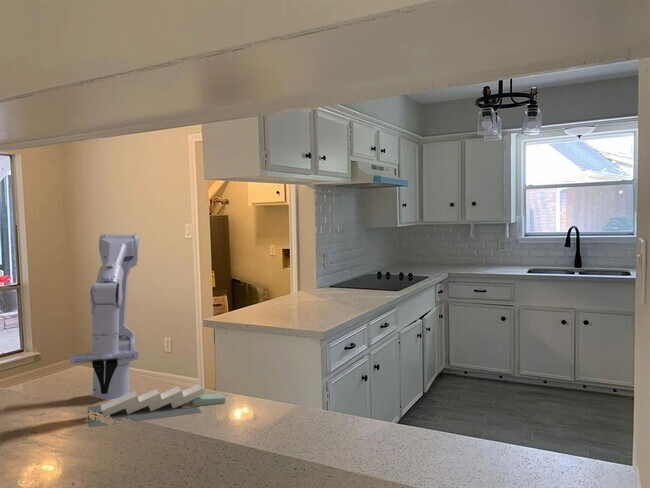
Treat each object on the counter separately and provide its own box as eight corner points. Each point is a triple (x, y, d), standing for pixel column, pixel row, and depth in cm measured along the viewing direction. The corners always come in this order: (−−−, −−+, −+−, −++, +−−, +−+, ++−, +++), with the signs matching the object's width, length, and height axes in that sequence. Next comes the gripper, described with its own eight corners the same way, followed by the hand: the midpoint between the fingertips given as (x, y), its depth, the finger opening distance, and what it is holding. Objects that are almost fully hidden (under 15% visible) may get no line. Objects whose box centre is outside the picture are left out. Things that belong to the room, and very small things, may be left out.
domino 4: (170, 402, 119) (202, 388, 123) (167, 397, 124) (198, 384, 127) (172, 408, 119) (204, 394, 123) (169, 403, 124) (200, 389, 127)
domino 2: (125, 408, 114) (159, 393, 118) (123, 402, 119) (156, 388, 122) (127, 414, 115) (161, 399, 118) (125, 408, 119) (158, 394, 123)
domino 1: (101, 410, 112) (137, 395, 116) (100, 405, 117) (135, 390, 120) (103, 417, 112) (139, 402, 116) (103, 411, 117) (137, 396, 120)
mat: (89, 428, 106) (89, 427, 106) (87, 408, 121) (88, 406, 121) (202, 414, 116) (202, 412, 116) (188, 397, 131) (188, 395, 131)
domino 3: (148, 405, 117) (181, 390, 120) (146, 400, 121) (177, 386, 125) (150, 411, 117) (183, 396, 120) (148, 406, 121) (179, 392, 125)
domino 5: (193, 399, 121) (225, 398, 125) (189, 394, 126) (221, 393, 129) (192, 406, 121) (225, 404, 124) (189, 401, 126) (220, 399, 129)
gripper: (70, 338, 109) (68, 400, 108) (140, 334, 115) (139, 393, 114) (70, 334, 115) (69, 393, 114) (137, 330, 121) (136, 386, 121)
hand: (104, 392), depth 115 cm, fingers closed
